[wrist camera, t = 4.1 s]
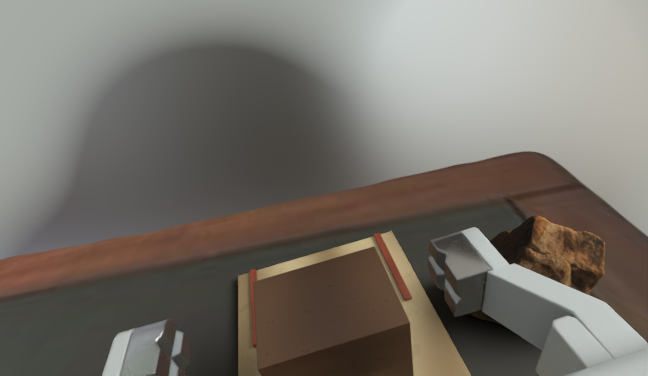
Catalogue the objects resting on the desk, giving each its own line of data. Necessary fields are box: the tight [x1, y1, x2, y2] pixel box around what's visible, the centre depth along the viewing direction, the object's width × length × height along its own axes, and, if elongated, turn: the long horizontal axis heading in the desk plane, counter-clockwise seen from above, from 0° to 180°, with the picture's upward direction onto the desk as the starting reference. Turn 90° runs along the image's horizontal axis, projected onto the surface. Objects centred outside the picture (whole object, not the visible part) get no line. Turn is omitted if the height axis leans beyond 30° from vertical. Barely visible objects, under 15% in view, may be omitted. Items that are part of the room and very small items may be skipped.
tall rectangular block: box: [253, 246, 414, 376], centre depth 28 cm, size 10×7×11 cm
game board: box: [238, 231, 471, 376], centre depth 35 cm, size 20×20×1 cm
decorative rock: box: [468, 216, 605, 326], centre depth 30 cm, size 12×6×11 cm, turn 69°
